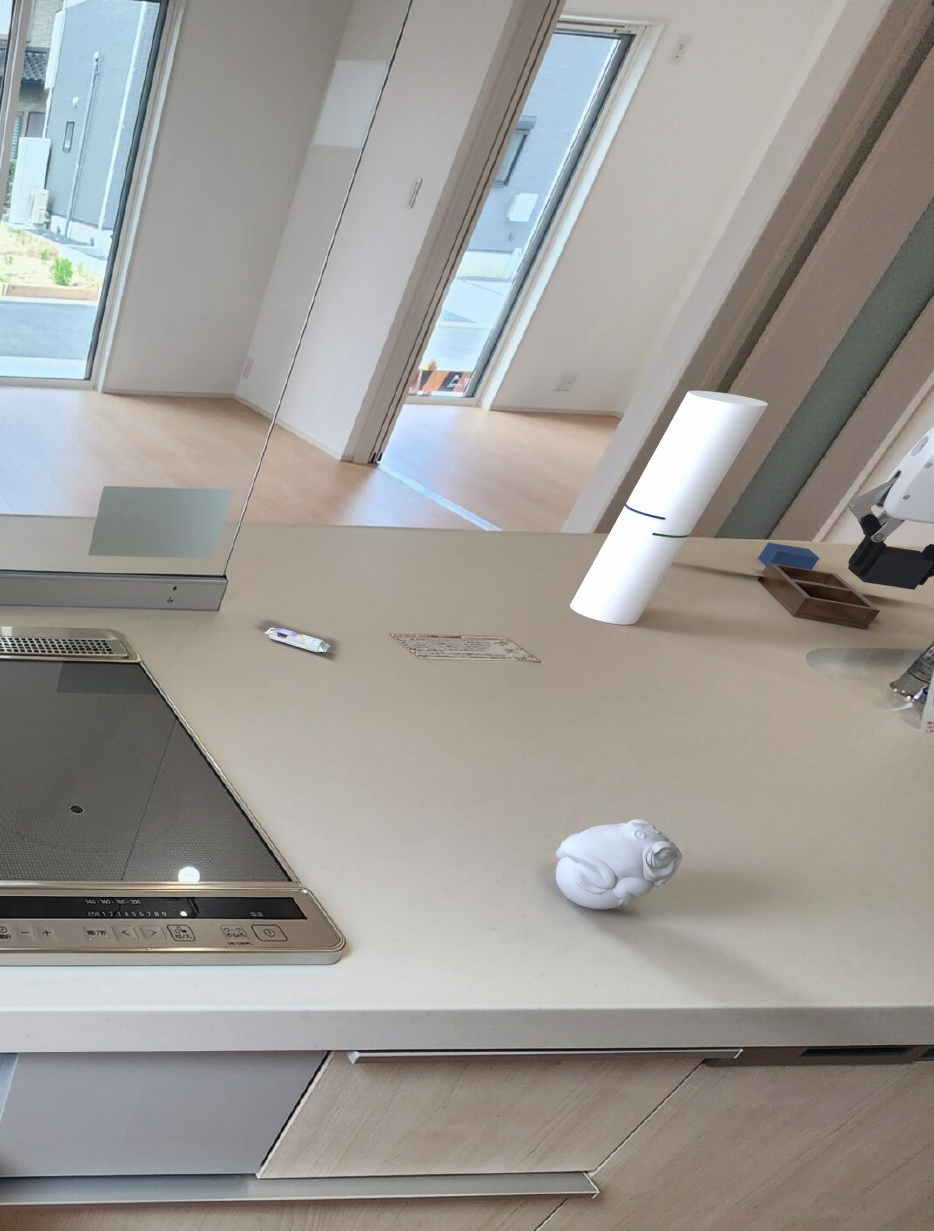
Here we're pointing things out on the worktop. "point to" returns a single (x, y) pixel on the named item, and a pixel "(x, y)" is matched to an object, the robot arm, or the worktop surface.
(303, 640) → the granola bar
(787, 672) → the worktop surface
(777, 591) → the holder
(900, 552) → the pad charcoal
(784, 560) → the pad blue
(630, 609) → the cylindrical container
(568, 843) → the frog figurine
